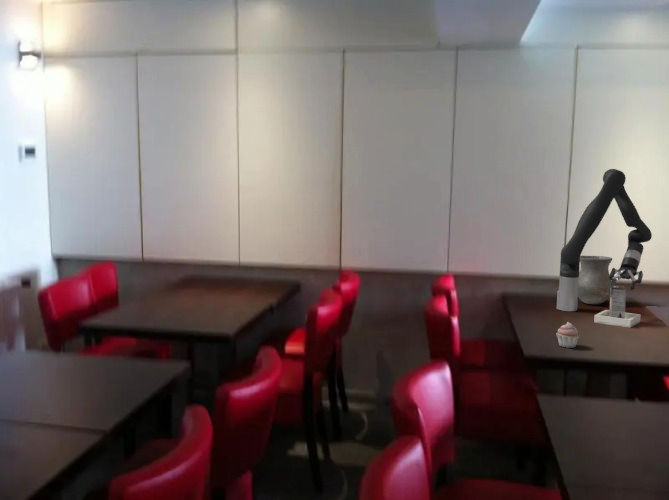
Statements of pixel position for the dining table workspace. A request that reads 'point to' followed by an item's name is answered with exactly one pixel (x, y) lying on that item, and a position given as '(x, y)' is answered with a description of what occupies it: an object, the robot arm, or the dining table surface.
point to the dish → (617, 319)
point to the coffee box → (617, 301)
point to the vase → (594, 279)
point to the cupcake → (567, 336)
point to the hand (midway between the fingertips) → (621, 287)
